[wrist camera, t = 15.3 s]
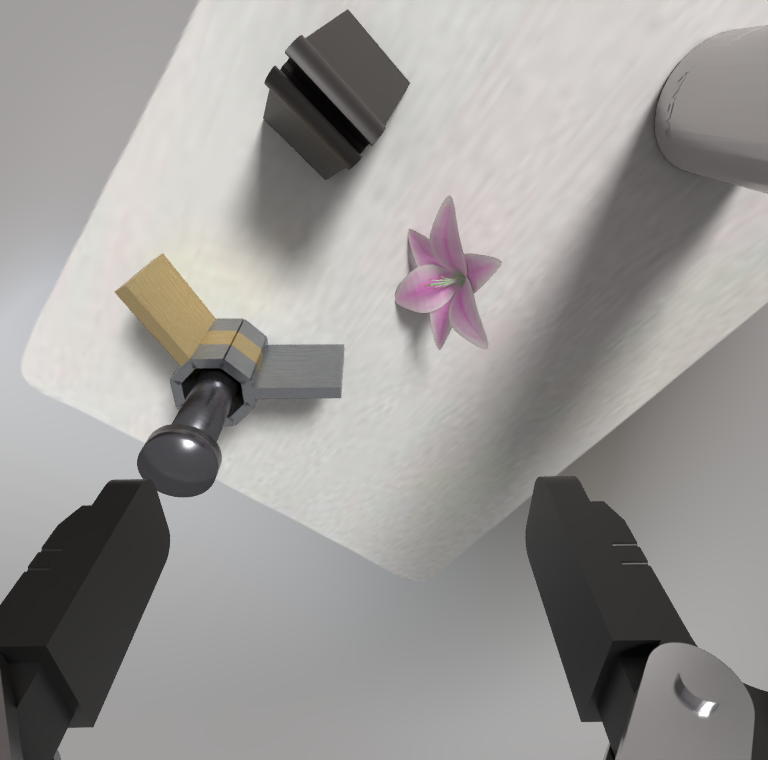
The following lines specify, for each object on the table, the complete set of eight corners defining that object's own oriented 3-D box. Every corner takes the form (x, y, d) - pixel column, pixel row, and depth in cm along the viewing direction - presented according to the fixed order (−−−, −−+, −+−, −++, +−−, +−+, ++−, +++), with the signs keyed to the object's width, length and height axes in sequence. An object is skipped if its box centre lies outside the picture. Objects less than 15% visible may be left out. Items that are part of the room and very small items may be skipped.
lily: (457, 164, 39) (409, 190, 33) (565, 250, 39) (538, 294, 32) (393, 267, 47) (344, 305, 40) (483, 341, 46) (448, 390, 40)
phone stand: (325, 179, 39) (311, 214, 28) (263, 117, 36) (223, 130, 26) (410, 83, 36) (429, 83, 25) (348, 9, 33) (341, -25, 23)
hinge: (340, 253, 42) (336, 284, 35) (345, 378, 48) (342, 424, 41) (152, 253, 41) (112, 285, 35) (180, 379, 47) (151, 426, 41)
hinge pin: (258, 325, 45) (209, 437, 30) (264, 372, 47) (221, 496, 33) (203, 325, 44) (128, 439, 30) (212, 372, 47) (146, 497, 33)
